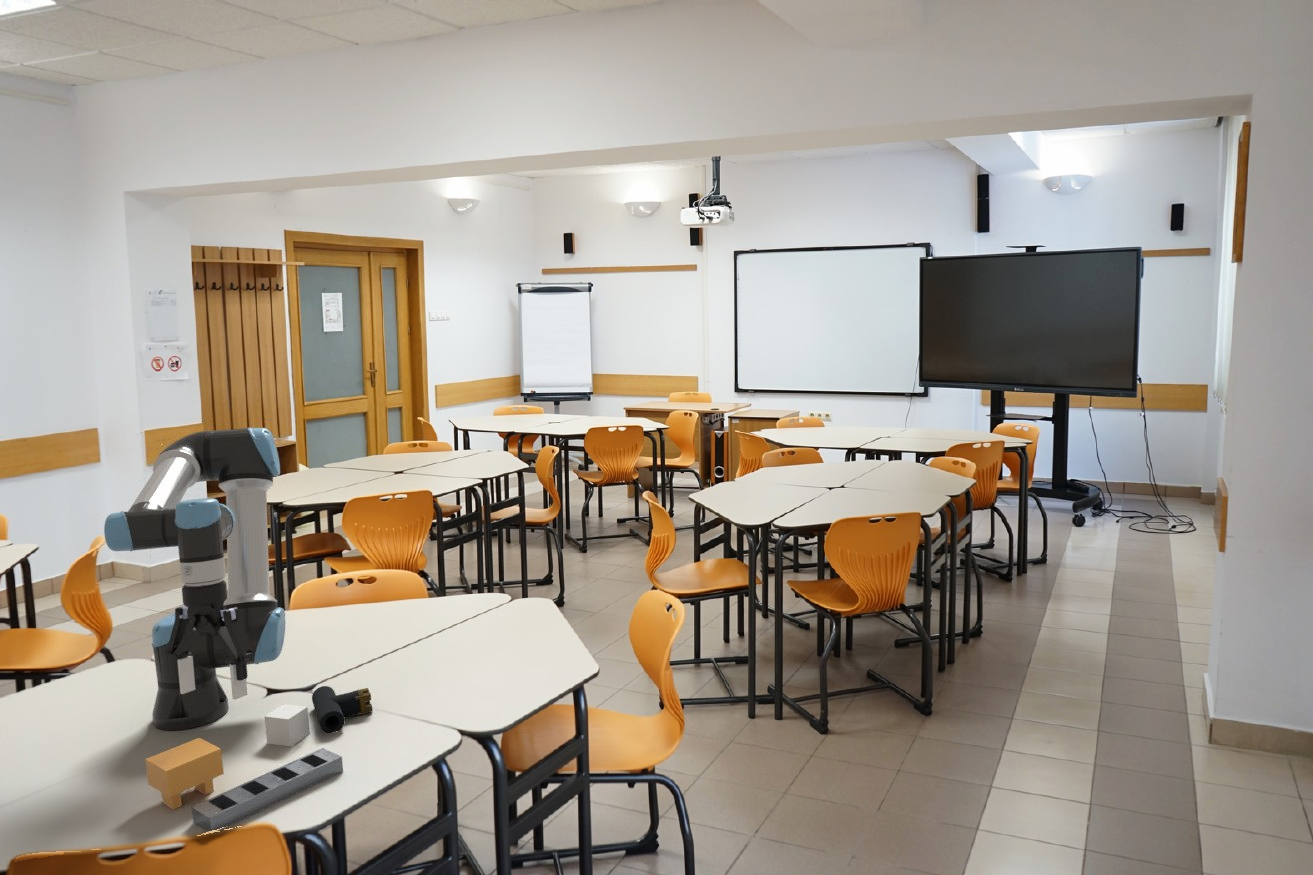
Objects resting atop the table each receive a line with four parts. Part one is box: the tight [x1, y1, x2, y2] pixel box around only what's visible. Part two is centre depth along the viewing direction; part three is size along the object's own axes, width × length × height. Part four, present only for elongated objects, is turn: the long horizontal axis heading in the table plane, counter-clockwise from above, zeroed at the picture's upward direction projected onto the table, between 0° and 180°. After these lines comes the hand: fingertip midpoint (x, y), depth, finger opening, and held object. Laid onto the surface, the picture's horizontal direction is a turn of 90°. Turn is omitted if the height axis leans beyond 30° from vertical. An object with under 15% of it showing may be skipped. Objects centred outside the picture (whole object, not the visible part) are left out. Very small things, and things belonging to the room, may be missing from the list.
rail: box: [191, 747, 344, 832], centre depth 174 cm, size 6×26×3 cm, turn 142°
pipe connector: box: [311, 685, 373, 735], centre depth 207 cm, size 12×5×15 cm
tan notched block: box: [144, 737, 225, 810], centre depth 174 cm, size 8×10×8 cm
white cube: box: [263, 703, 311, 747], centre depth 197 cm, size 6×6×6 cm
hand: (213, 694), depth 177 cm, fingers open, 13 cm apart
